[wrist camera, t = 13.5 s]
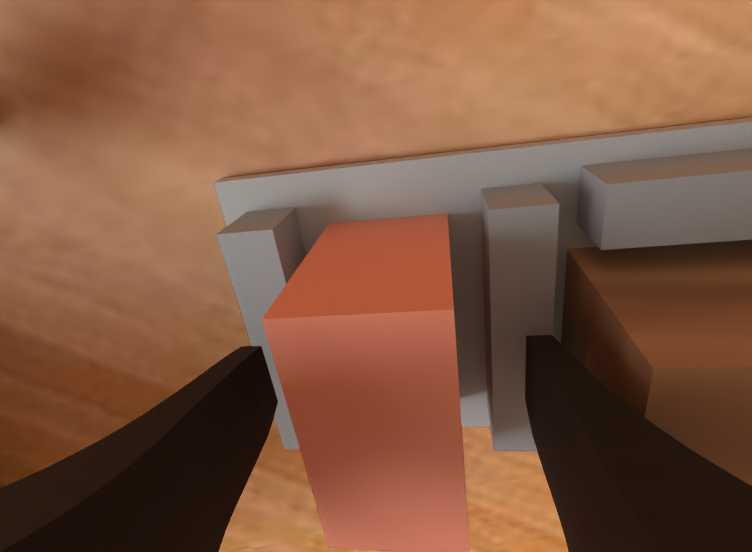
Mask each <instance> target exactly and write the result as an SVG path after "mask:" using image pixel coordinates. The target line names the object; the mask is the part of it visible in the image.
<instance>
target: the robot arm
mask: <svg viewBox="0 0 752 552" xmlns="http://www.w3.org/2000/svg"><path fill="white" fill-rule="evenodd" d="M525 401H526V406H527V412H528V417H529V422H530V426H531V431H532V436H533V439H534V442H535V445H536V448H537V451H538V454H539V457H540V461H541V464H542V467H543V470H544V473H545V476H546V479H547V482H548V485H549V488H550V491H551V494H552V497H553V500H554V503H555V506H556V509H557V512H558V515H559V518H560V521H561V525H562V528H563V532H564V535H565V539H566V542H567V546H568V551H569V552H752V486H751V485H750V484H748V483H746V482H744V481H742V480H741V479H739V478H737V477H736V476H734V475H732V474H731V473H729V472H727V471H726V470H724V469H722V468H720V467H719V466H717V465H715V464H714V463H712V462H710V461H709V460H707V459H705V458H704V457H702V456H701V455H699V454H697V453H696V452H694V451H693V450H691V449H690V448H688V447H686V446H685V445H684V444H682V443H681V442H679V441H678V440H676V439H675V438H673V437H672V436H670V435H669V434H667V433H666V432H665V431H663V430H662V429H660V428H659V427H657V426H656V425H654V424H653V423H652V422H650V421H649V420H648V419H646V418H645V417H643V416H642V415H641V414H640V413H638V412H637V411H636V410H635V409H633V408H632V407H631V406H629V405H628V404H627V403H626V402H624V401H623V400H622V399H621V398H619V397H618V396H617V395H616V394H615V393H614V392H612V391H611V390H610V389H609V388H608V387H607V386H606V385H604V384H603V383H602V382H601V381H600V380H599V379H598V378H597V377H595V376H594V375H593V374H592V373H591V372H590V371H589V370H588V369H587V368H586V367H585V366H583V365H582V364H581V363H580V362H579V361H578V360H577V359H576V358H575V357H574V356H573V355H572V354H571V353H570V352H569V351H568V350H567V349H566V348H565V347H564V346H563V345H562V344H561V343H560V342H559V341H558V340H557V339H556V338H555V337H553V336H552V335H534V336H526V370H525ZM277 404H278V399H277V396H276V393H275V389H274V386H273V383H272V380H271V376H270V373H269V370H268V366H267V363H266V360H265V356H264V353H263V350H262V347H261V346H246V347H240V348H239V349H237V350H235V351H234V352H232V353H231V354H229V355H228V356H226V357H225V358H223V359H222V360H221V361H219V362H218V363H216V364H215V365H214V366H212V367H211V368H209V369H208V370H207V371H205V372H204V373H203V374H201V375H200V376H198V377H197V378H196V379H194V380H193V381H191V382H190V383H189V384H187V385H186V386H185V387H183V388H182V389H180V390H179V391H178V392H176V393H175V394H173V395H172V396H170V397H169V398H167V399H166V400H164V401H163V402H161V403H160V404H158V405H157V406H155V407H154V408H152V409H151V410H149V411H148V412H146V413H145V414H143V415H142V416H140V417H139V418H137V419H136V420H134V421H132V422H131V423H129V424H127V425H126V426H124V427H122V428H121V429H119V430H117V431H116V432H114V433H112V434H110V435H109V436H107V437H105V438H103V439H102V440H100V441H98V442H96V443H94V444H93V445H91V446H89V447H87V448H85V449H83V450H81V451H79V452H77V453H75V454H73V455H71V456H69V457H67V458H65V459H63V460H61V461H59V462H57V463H55V464H53V465H51V466H49V467H47V468H45V469H43V470H41V471H39V472H36V473H34V474H32V475H30V476H28V477H25V478H23V479H21V480H19V481H16V482H14V483H12V484H9V485H7V486H5V487H2V488H0V552H218V551H219V548H220V545H221V542H222V539H223V537H224V534H225V531H226V528H227V526H228V523H229V521H230V518H231V516H232V514H233V511H234V509H235V507H236V505H237V502H238V500H239V498H240V496H241V494H242V492H243V489H244V487H245V485H246V483H247V481H248V479H249V476H250V474H251V472H252V470H253V468H254V466H255V463H256V461H257V459H258V457H259V455H260V452H261V450H262V448H263V446H264V443H265V441H266V439H267V436H268V434H269V431H270V428H271V425H272V422H273V418H274V415H275V411H276V408H277Z"/></svg>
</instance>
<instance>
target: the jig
mask: <svg viewBox="0 0 752 552" xmlns="http://www.w3.org/2000/svg"><path fill="white" fill-rule="evenodd" d="M214 187H215V190H216V193H217V197H218V200H219V203H220V206H221V210H222V213H223V216H224V220H225V223H226V226H227V227H226V228H224V229H223V230H222V231H220V232H219V233H218V234H216V235H217V238H218V241H219V244H220V248H221V251H222V254H223V257H224V260H225V264H226V267H227V270H228V273H229V276H230V279H231V283H232V286H233V289H234V292H235V295H236V298H237V302H238V305H239V308H240V311H241V314H242V317H243V321H244V324H245V327H246V330H247V333H248V336H249V340H250V343H251V346H261V347H262V350H263V353H264V356H265V360H266V363H267V366H268V370H269V373H270V376H271V380H272V383H273V386H274V389H275V393H276V396H277V399H278V404H277V408H276V411H275V415H274V419H275V422H276V425H277V428H278V432H279V435H280V438H281V441H282V444H283V447H284V449H300V448H299V444H298V441H297V437H296V434H295V431H294V427H293V424H292V420H291V417H290V413H289V410H288V407H287V403H286V400H285V396H284V393H283V390H282V386H281V383H280V379H279V376H278V373H277V369H276V366H275V362H274V359H273V356H272V352H271V349H270V345H269V342H268V339H267V335H266V332H265V328H264V325H263V322H262V318H263V317H264V315H265V314H266V313H267V311H268V310H269V308H270V307H271V305H272V304H273V303H274V301H275V300H276V298H277V297H278V295H279V294H280V293H281V291H282V290H283V288H284V287H285V285H286V284H287V283H288V281H289V280H290V278H291V277H292V275H293V274H294V273H295V271H296V270H297V268H298V267H299V265H300V264H301V263H302V261H303V260H304V258H305V257H306V255H307V254H308V253H309V251H310V250H311V248H312V247H313V245H314V244H315V243H316V241H317V240H318V238H319V237H320V235H321V234H322V233H323V231H324V230H325V228H326V227H327V225H328V224H334V223H345V222H356V221H367V220H378V219H389V218H400V217H411V216H422V215H434V214H445V213H447V216H448V230H449V245H450V259H451V274H452V288H453V303H454V317H455V333H456V348H457V363H458V379H459V394H460V409H461V424H462V427H490V428H491V435H492V442H493V449H494V451H537V448H536V445H535V442H534V439H533V436H532V431H531V426H530V422H529V417H528V412H527V406H526V401H525V370H526V336H534V335H552V336H553V337H555V338H556V339H557V340H558V341H559V342H560V343H561V336H562V320H563V305H564V289H565V273H566V258H567V249H570V248H584V247H599V249H600V250H609V249H623V248H638V247H652V246H666V245H680V244H694V243H709V242H723V241H737V240H751V239H752V117H748V118H740V119H731V120H722V121H714V122H705V123H696V124H688V125H679V126H670V127H662V128H653V129H644V130H636V131H627V132H618V133H610V134H601V135H592V136H584V137H575V138H566V139H557V140H549V141H540V142H531V143H523V144H514V145H505V146H497V147H488V148H479V149H471V150H462V151H453V152H445V153H436V154H427V155H419V156H410V157H401V158H393V159H384V160H375V161H366V162H358V163H349V164H340V165H332V166H323V167H314V168H306V169H297V170H288V171H280V172H271V173H262V174H254V175H245V176H236V177H228V178H222V179H220V180H218V181H216V182H214Z"/></svg>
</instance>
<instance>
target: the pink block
mask: <svg viewBox="0 0 752 552" xmlns="http://www.w3.org/2000/svg"><path fill="white" fill-rule="evenodd" d="M262 322H263V325H264V328H265V332H266V335H267V339H268V342H269V345H270V349H271V352H272V356H273V359H274V362H275V366H276V369H277V373H278V376H279V379H280V383H281V386H282V390H283V393H284V396H285V400H286V403H287V407H288V410H289V413H290V417H291V420H292V424H293V427H294V431H295V434H296V437H297V441H298V444H299V448H300V451H301V454H302V458H303V461H304V465H305V468H306V471H307V475H308V478H309V482H310V485H311V488H312V492H313V495H314V499H315V502H316V505H317V509H318V512H319V516H320V519H321V522H322V526H323V529H324V533H325V536H326V540H327V543H328V546H329V548H338V549H358V550H377V551H397V552H470V547H469V531H468V516H467V501H466V485H465V470H464V455H463V440H462V424H461V409H460V394H459V379H458V363H457V348H456V333H455V317H454V303H453V288H452V274H451V259H450V245H449V230H448V216H447V213H445V214H434V215H422V216H411V217H400V218H389V219H378V220H367V221H356V222H345V223H334V224H328V225H327V227H326V228H325V230H324V231H323V233H322V234H321V235H320V237H319V238H318V240H317V241H316V243H315V244H314V245H313V247H312V248H311V250H310V251H309V253H308V254H307V255H306V257H305V258H304V260H303V261H302V263H301V264H300V265H299V267H298V268H297V270H296V271H295V273H294V274H293V275H292V277H291V278H290V280H289V281H288V283H287V284H286V285H285V287H284V288H283V290H282V291H281V293H280V294H279V295H278V297H277V298H276V300H275V301H274V303H273V304H272V305H271V307H270V308H269V310H268V311H267V313H266V314H265V315H264V317H263V318H262Z"/></svg>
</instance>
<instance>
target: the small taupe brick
mask: <svg viewBox="0 0 752 552" xmlns="http://www.w3.org/2000/svg"><path fill="white" fill-rule="evenodd" d="M561 344H562V345H563V346H564V347H565V348H566V349H567V350H568V351H569V352H570V353H571V354H572V355H573V356H574V357H575V358H576V359H577V360H578V361H579V362H580V363H581V364H582V365H583V366H585V367H586V368H587V369H588V370H589V371H590V372H591V373H592V374H593V375H594V376H595V377H597V378H598V379H599V380H600V381H601V382H602V383H603V384H604V385H606V386H607V387H608V388H609V389H610V390H611V391H612V392H614V393H615V394H616V395H617V396H618V397H619V398H621V399H622V400H623V401H624V402H626V403H627V404H628V405H629V406H631V407H632V408H633V409H635V410H636V411H637V412H638V413H640V414H641V415H642V416H643V417H645V418H646V419H648V420H649V421H650V422H652V423H653V424H654V425H656V426H657V427H659V428H660V429H662V430H663V431H665V432H666V433H667V434H669V435H670V436H672V437H673V438H675V439H676V440H678V441H679V442H681V443H682V444H684V445H685V446H686V447H688V448H690V449H691V450H693V451H694V452H696V453H697V454H699V455H701V456H702V457H704V458H705V459H707V460H709V461H710V462H712V463H714V464H715V465H717V466H719V467H720V468H722V469H724V470H726V471H727V472H729V473H731V474H732V475H734V476H736V477H737V478H739V479H741V480H742V481H744V482H746V483H748V484H750V485H751V486H752V239H751V240H737V241H723V242H709V243H694V244H680V245H666V246H652V247H638V248H623V249H609V250H600V249H599V247H584V248H570V249H567V258H566V273H565V289H564V305H563V320H562V336H561Z"/></svg>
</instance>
